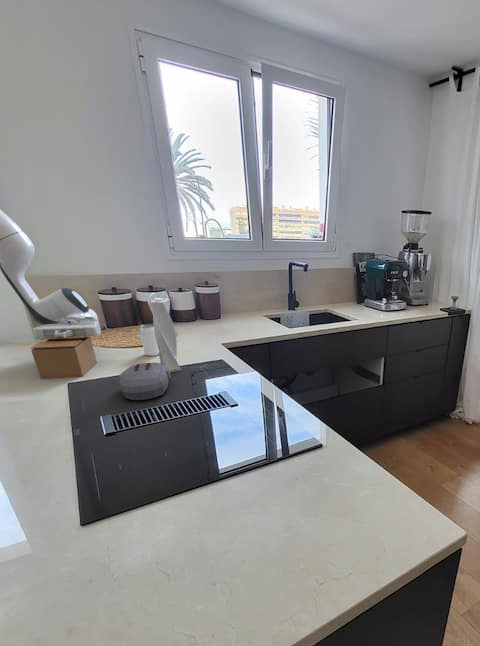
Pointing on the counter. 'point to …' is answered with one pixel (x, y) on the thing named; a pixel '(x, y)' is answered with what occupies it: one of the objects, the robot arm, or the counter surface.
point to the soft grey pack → (144, 381)
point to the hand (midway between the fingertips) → (59, 336)
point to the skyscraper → (164, 333)
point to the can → (149, 340)
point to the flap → (63, 338)
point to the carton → (64, 357)
